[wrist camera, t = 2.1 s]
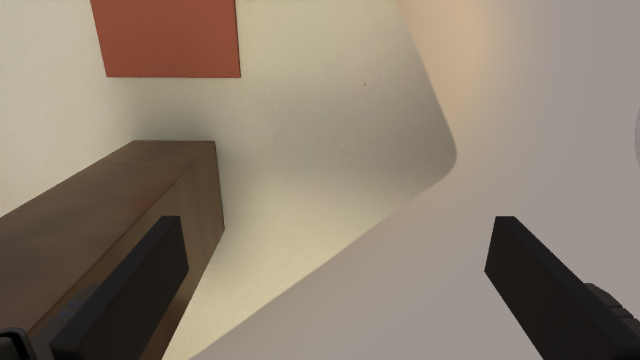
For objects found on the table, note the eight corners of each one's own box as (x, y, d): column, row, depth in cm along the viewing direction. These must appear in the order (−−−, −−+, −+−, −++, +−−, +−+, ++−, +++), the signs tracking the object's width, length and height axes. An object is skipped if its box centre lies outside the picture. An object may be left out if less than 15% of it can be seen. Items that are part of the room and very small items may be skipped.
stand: (214, 140, 35) (-142, 507, 8) (224, 229, 39) (6, 679, 12) (132, 140, 35) (-500, 505, 8) (151, 229, 39) (-235, 678, 12)
